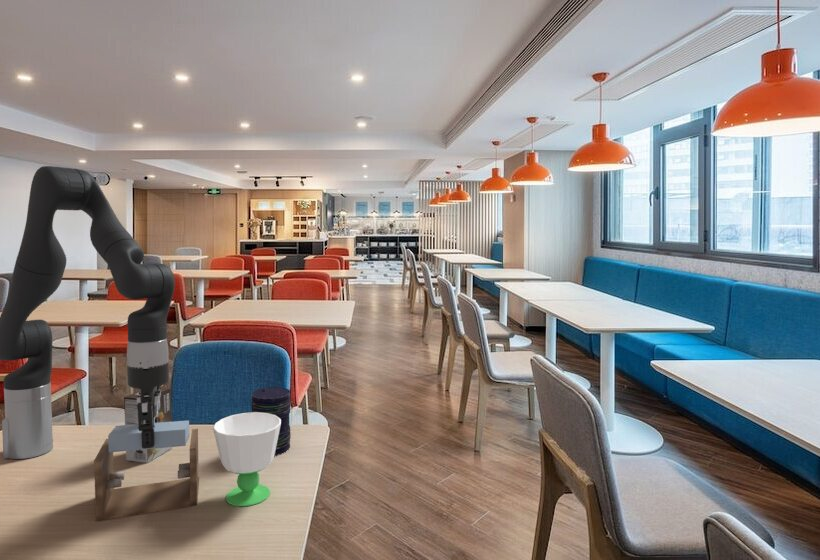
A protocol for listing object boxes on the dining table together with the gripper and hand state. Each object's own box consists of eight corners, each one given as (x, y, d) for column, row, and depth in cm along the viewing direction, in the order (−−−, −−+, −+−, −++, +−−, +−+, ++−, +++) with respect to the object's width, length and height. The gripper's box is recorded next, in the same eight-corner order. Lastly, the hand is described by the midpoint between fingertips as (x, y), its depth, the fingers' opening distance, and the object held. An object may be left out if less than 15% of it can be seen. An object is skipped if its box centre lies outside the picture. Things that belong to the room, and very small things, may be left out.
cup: (293, 486, 110) (293, 416, 108) (255, 518, 97) (255, 440, 95) (242, 475, 114) (241, 408, 113) (199, 505, 101) (198, 430, 100)
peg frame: (95, 521, 95) (93, 460, 94) (107, 493, 105) (105, 438, 104) (197, 504, 101) (196, 448, 100) (199, 480, 111) (198, 428, 111)
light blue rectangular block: (108, 452, 98) (108, 435, 98) (116, 442, 103) (115, 425, 102) (185, 445, 102) (185, 429, 101) (189, 436, 107) (189, 420, 106)
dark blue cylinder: (298, 446, 131) (298, 391, 130) (269, 460, 122) (269, 401, 121) (272, 437, 136) (272, 384, 135) (243, 450, 128) (242, 393, 127)
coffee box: (151, 445, 129) (150, 385, 128) (173, 448, 128) (172, 387, 127) (124, 460, 120) (123, 396, 119) (147, 463, 119) (146, 398, 118)
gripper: (132, 354, 106) (134, 431, 107) (120, 371, 93) (123, 458, 94) (171, 352, 109) (173, 427, 110) (165, 368, 96) (166, 453, 97)
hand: (150, 441), depth 102 cm, fingers closed on light blue rectangular block, 5 cm apart
